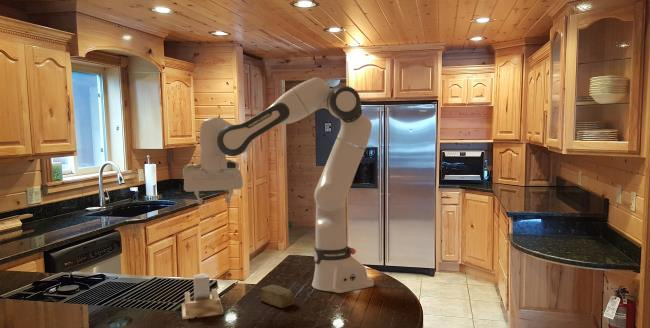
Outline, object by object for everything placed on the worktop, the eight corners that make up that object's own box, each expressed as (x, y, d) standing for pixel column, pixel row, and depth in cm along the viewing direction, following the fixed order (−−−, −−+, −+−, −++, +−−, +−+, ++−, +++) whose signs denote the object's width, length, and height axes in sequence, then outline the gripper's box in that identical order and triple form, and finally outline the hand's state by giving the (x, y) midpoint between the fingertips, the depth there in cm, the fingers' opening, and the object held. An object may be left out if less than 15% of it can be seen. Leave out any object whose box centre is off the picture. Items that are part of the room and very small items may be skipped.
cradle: (219, 300, 149) (219, 288, 149) (223, 314, 138) (223, 300, 137) (181, 305, 145) (181, 292, 145) (182, 319, 134) (182, 305, 134)
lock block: (208, 303, 145) (208, 272, 144) (210, 308, 140) (209, 277, 139) (194, 304, 143) (193, 274, 143) (195, 310, 139) (194, 278, 138)
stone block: (282, 310, 141) (282, 294, 140) (258, 302, 148) (258, 287, 148) (295, 305, 145) (295, 289, 145) (272, 297, 153) (271, 282, 152)
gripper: (182, 165, 152) (183, 206, 152) (243, 163, 158) (244, 202, 159) (182, 164, 158) (183, 203, 158) (240, 162, 164) (241, 200, 165)
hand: (214, 203), depth 159 cm, fingers open, 8 cm apart
